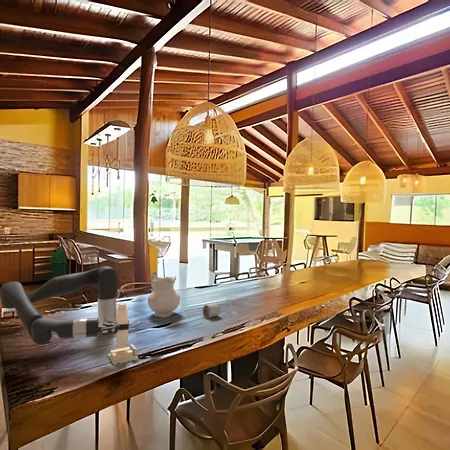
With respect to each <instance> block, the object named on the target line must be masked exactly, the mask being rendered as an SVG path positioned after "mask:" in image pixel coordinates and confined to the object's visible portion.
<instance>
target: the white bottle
mask: <svg viewBox="0 0 450 450" xmlns="http://www.w3.org/2000/svg"><path fill="white" fill-rule="evenodd" d="M128 320H129V308H128V307H127V303H125V302H120V303H117V309H116V325H119V326H120V324H128ZM115 337H116V338H115V345H116V349H121V348H126V347H129V329H128V330H119V331H118V332H117V333H115Z"/></svg>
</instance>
